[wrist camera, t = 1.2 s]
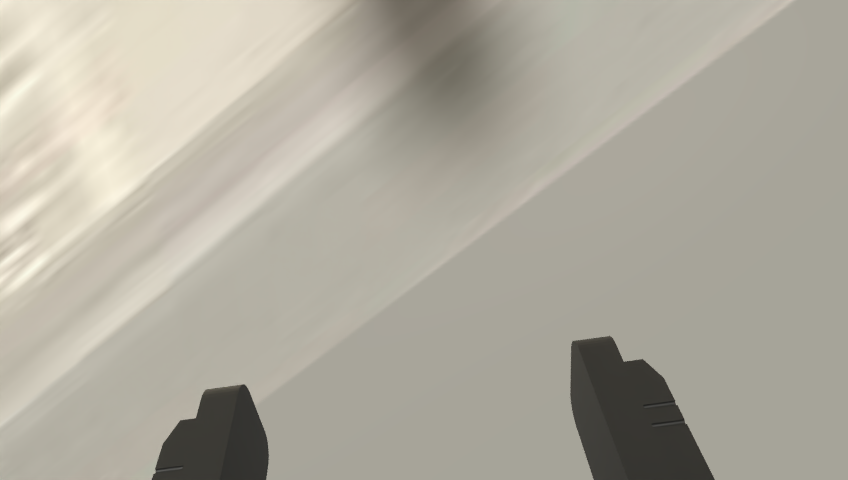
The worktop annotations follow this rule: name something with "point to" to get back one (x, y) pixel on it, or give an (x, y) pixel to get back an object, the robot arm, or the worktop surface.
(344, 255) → the worktop surface
